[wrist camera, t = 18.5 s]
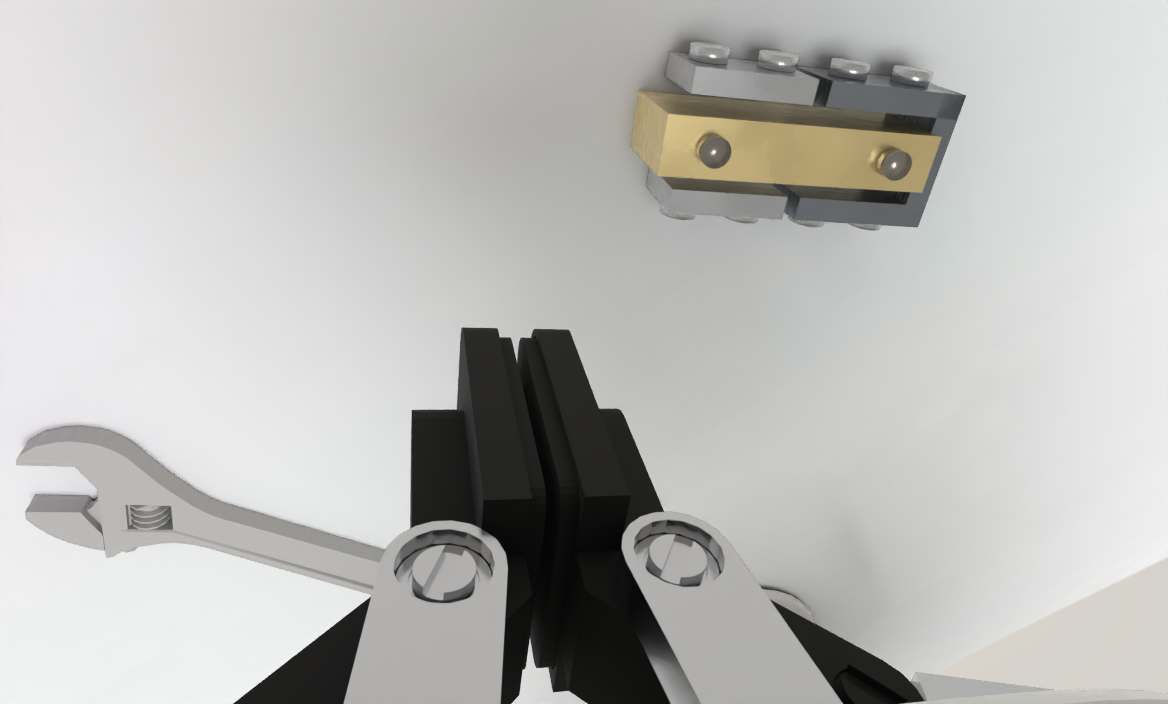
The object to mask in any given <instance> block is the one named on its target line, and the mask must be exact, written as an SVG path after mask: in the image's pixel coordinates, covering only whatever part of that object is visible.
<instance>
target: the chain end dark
mask: <svg viewBox="0 0 1168 704" xmlns="http://www.w3.org/2000/svg"><path fill="white" fill-rule="evenodd" d="M870 67H871V65H870V64H867V63H864V62H860V61H855V60H849V59H842V58H832V60H831V64H830V67H829V69H821V68H812V67H803V66H797V68H796V70H797V71H800V72H802V73H805V74H807V75H809V76H812V77H814V78H816V79H819V83H818V87H817V91H816V94H815V98H814V102H816V103H818V104H821V105H823V106H825V107H831V108H841V109H851V110H861V111H871V112H881V113H887V114H889V115H892V116H894V117H896V118H899V119H901V120H904V121H906V122H908V123H911V124H913V125H915V126H918V127H920V128H922V129H925V130H927V131H929V132H932V133H934V134H937V135H939V136H941V137H942V138H941V141H940V144H939V147H938V149H937V152H936V155H935V158H934V161H933V164H932V166H931V169H930V172H929V175H928V178H927V180H926V183H925V186H924V189H923V192H922V193H917V192H901V191H885V190H869V189H853V188H837V187H821V186H806V185H790V184H774V183H770V184H771V185H773V186H774V187H775V188H777V189H778V190H779V191H781V192H782V193H783V194H784V195H786V196H787V197H788V198H787V202H786V205H785V209H784V212H785V213H786V214H788V215H789V217H788V218H789V219H790V220H791V221H793V222H795V223H797V224H800V225H804V226H809V227H821V226H823V223H824V222H837V223H848V224H850V225H852V226H854V227H857V228H861V229H865V230H879V229H880V227H881V225H888V226H906V227H918V225H919V222H920V220H921V217H922V214H923V211H924V209H925V206H926V203H927V201H928V198H929V195H930V192H931V190H932V187H933V184H934V181H935V179H936V176H937V173H938V171H939V168H940V165H941V162H942V160H943V157H944V154H945V151H946V149H947V146H948V143H949V141H950V138H951V135H952V132H953V130H954V127H955V124H956V121H957V119H958V116H959V113H960V111H961V108H962V105H963V102H964V100H965V97H966V95H963V94H960V93H957V92H954V91H951V90H948V89H945V88H942V87H939V86H936V85H933V84H930V80H931V78H932V75H933V72H932V71H929V70H925V69H920V68H915V67H909V66H902V65H894V68H893V72H892V75H891V76H883V75H874V74H868V73H869V70H870Z"/></svg>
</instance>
